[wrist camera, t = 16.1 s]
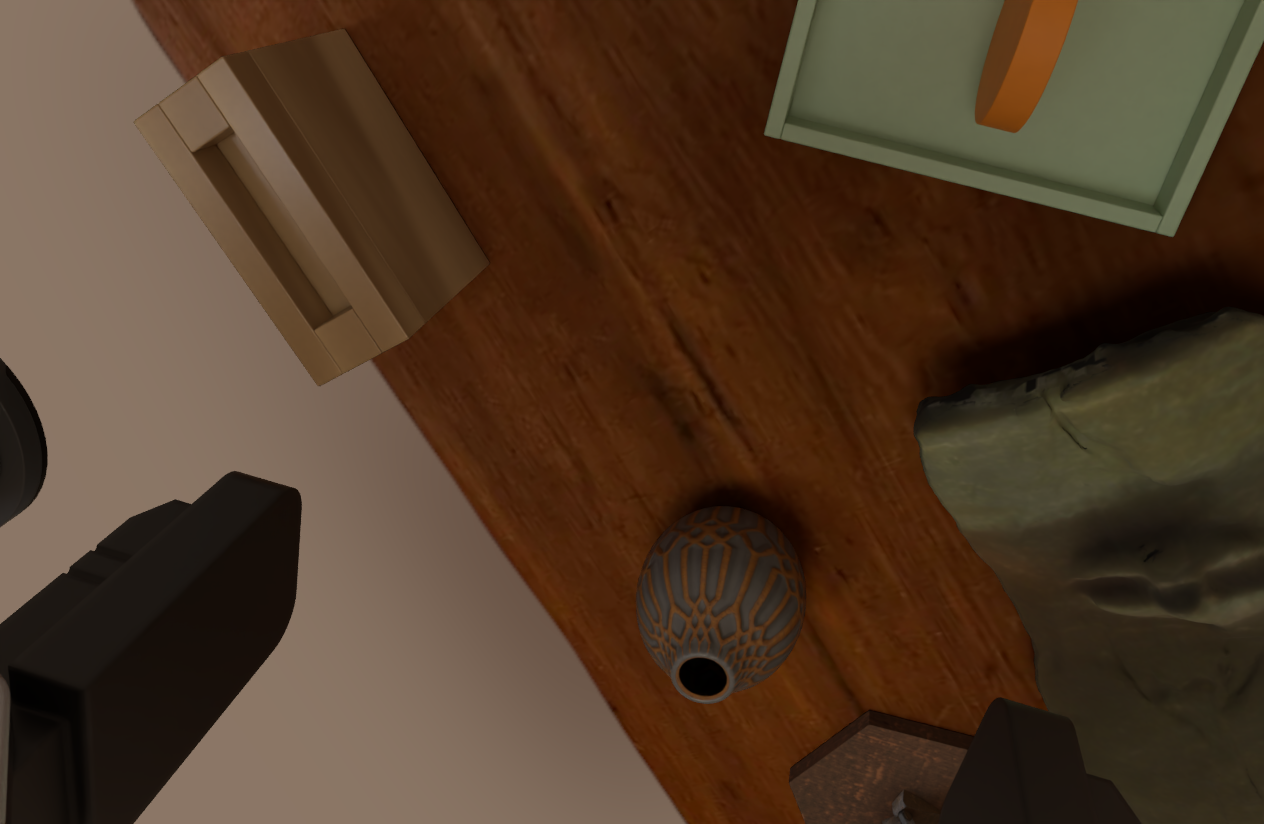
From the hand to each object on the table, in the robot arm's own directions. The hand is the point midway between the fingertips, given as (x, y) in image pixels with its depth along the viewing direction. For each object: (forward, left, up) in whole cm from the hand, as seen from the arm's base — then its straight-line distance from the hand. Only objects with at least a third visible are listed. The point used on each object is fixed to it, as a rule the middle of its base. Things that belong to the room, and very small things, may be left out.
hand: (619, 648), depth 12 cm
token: (+6, +5, -27) cm, 28 cm away
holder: (-16, -5, -30) cm, 34 cm away
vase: (+2, -18, -30) cm, 35 cm away
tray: (+6, +6, -30) cm, 31 cm away
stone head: (+22, -12, -30) cm, 39 cm away
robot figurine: (+13, -29, -30) cm, 44 cm away
